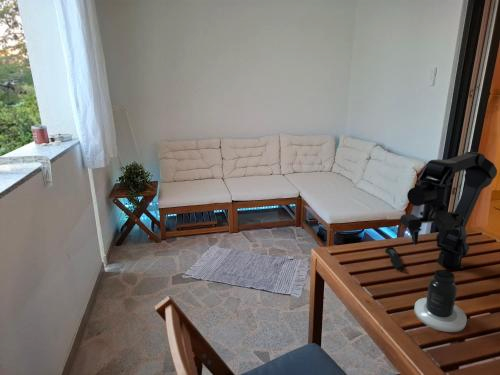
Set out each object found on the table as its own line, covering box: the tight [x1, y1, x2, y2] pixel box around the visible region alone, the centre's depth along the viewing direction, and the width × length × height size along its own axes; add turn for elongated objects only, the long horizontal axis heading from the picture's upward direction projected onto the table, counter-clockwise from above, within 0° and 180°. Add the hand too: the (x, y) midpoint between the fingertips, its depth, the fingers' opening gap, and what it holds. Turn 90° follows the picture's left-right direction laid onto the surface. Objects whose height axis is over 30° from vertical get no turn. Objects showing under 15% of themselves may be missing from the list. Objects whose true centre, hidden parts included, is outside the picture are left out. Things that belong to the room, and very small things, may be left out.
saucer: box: [413, 297, 468, 333], centre depth 93 cm, size 13×13×2 cm
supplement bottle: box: [426, 269, 458, 317], centre depth 92 cm, size 7×7×12 cm
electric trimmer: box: [384, 246, 405, 271], centre depth 122 cm, size 4×16×3 cm, turn 172°
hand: (428, 243), depth 108 cm, fingers open, 9 cm apart
